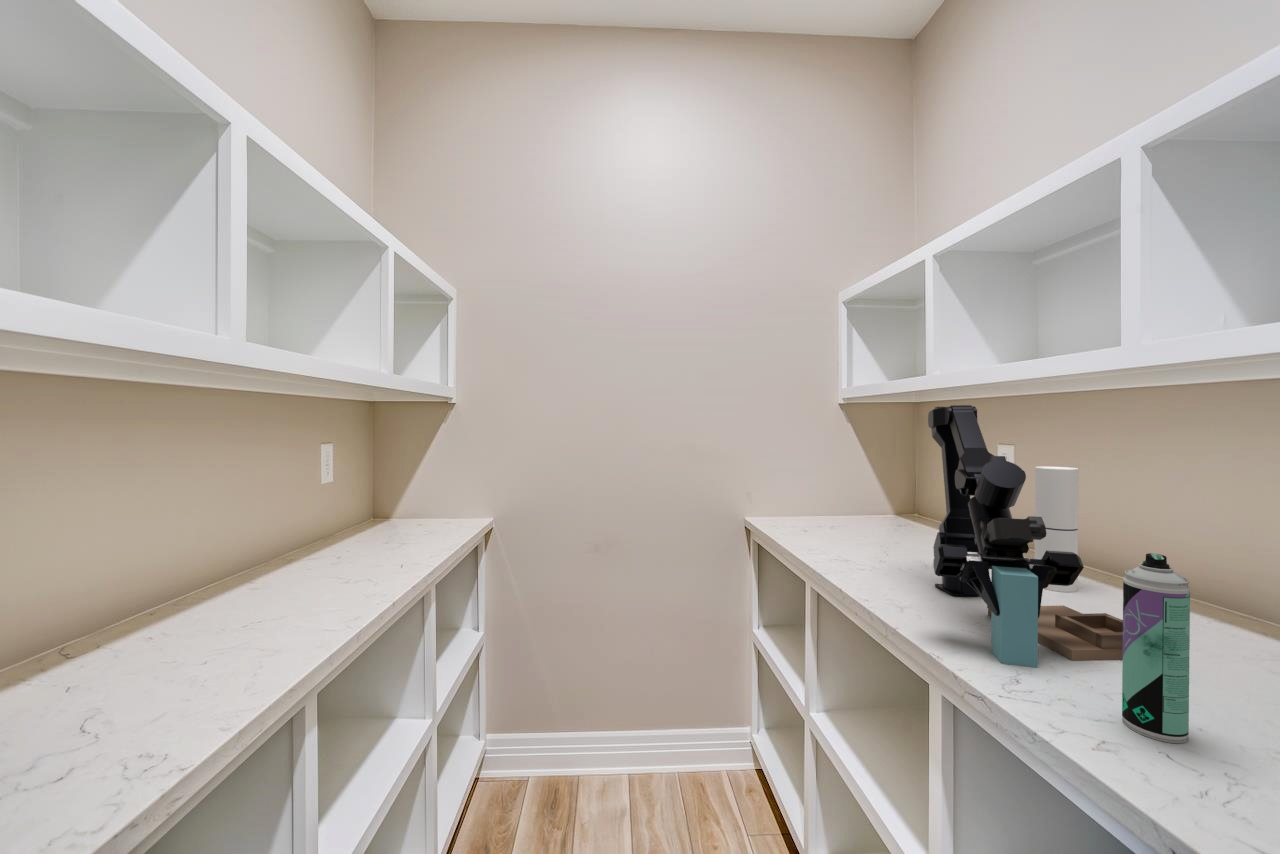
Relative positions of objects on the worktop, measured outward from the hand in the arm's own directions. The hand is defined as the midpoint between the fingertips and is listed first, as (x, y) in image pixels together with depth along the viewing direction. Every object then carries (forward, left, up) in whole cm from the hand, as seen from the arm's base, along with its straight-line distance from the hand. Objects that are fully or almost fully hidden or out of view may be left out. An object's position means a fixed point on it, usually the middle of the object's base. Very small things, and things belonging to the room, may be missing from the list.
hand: (1017, 616), depth 77 cm
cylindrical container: (-33, +33, -7) cm, 48 cm away
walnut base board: (-9, +15, -7) cm, 19 cm away
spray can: (+17, +3, -7) cm, 18 cm away
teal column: (-1, 0, -7) cm, 7 cm away
